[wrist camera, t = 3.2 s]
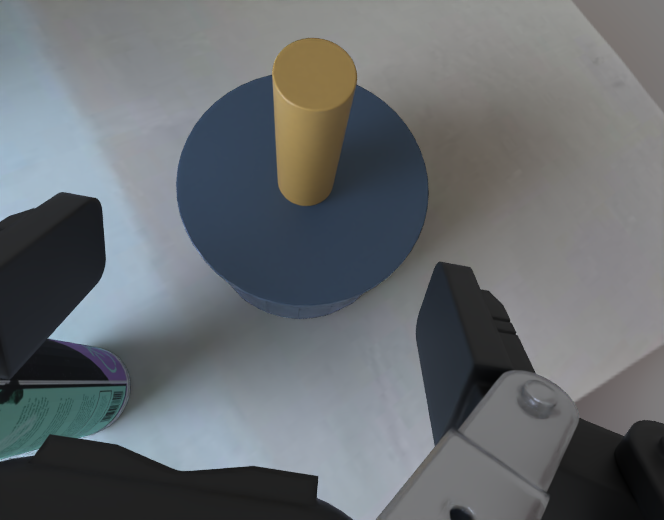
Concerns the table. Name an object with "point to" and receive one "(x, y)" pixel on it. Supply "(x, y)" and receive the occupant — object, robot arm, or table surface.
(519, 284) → the table surface
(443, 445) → the robot arm
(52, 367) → the spray can
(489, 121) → the table surface
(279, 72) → the lid
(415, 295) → the table surface
